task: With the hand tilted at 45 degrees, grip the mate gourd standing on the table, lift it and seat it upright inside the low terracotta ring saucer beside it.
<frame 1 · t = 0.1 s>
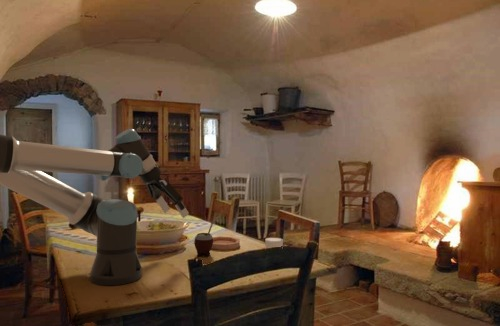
hand: (176, 213, 148), 15 cm above the table, tool tilted 35°, fingers open, 13 cm apart
mate gourd: (204, 255, 146), on the table
white cup: (273, 258, 146), on the table
ring saucer: (222, 245, 161), on the table
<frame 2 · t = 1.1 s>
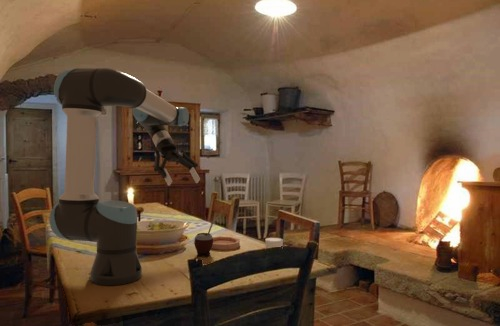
hand: (184, 182, 155), 27 cm above the table, tool tilted 45°, fingers open, 13 cm apart
nothing on the table moved.
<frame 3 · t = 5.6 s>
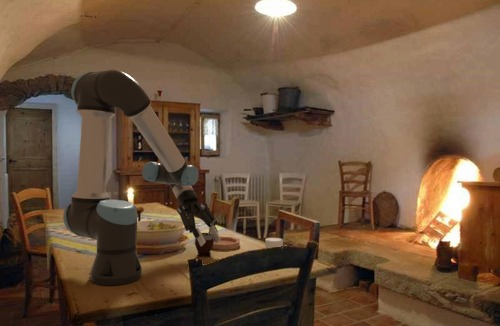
hand: (211, 242, 144), 6 cm above the table, tool tilted 45°, fingers closed on mate gourd, 7 cm apart
mate gourd: (205, 255, 147), on the table, touching gripper
everything else where it was.
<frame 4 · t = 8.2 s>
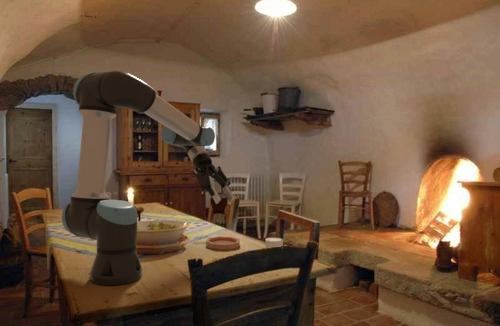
hand: (225, 200, 153), 20 cm above the table, tool tilted 45°, fingers closed on mate gourd, 7 cm apart
mate gourd: (220, 213, 156), point 14 cm above the table, touching gripper
everything else where it was.
when the fingers open (9 cm above the table, at t = 10.7 s): mate gourd drops 2 cm, resting on ring saucer.
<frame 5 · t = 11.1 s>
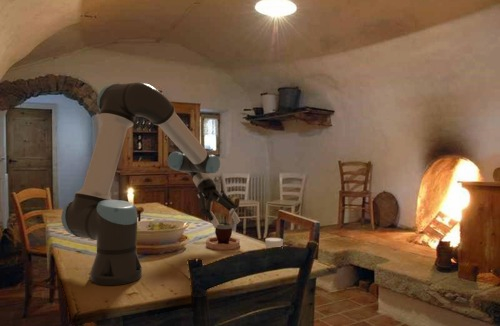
hand: (227, 224, 159), 9 cm above the table, tool tilted 45°, fingers open, 11 cm apart
mate gourd: (224, 243, 162), point 1 cm above the table, touching ring saucer
everything else where it was.
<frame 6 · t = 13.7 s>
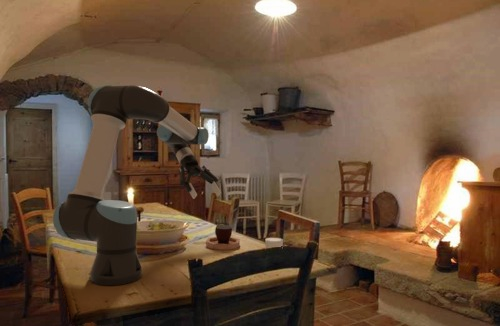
hand: (207, 195, 167), 20 cm above the table, tool tilted 45°, fingers open, 13 cm apart
nothing on the table moved.
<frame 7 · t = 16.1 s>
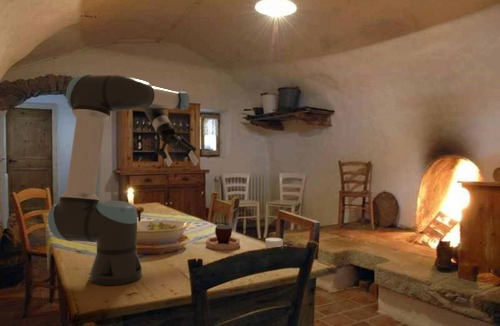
hand: (183, 163, 161), 34 cm above the table, tool tilted 45°, fingers open, 13 cm apart
nothing on the table moved.
at the end: mate gourd 1.0 cm off-centre on the ring saucer, point 0.8 cm above the ring saucer's base; mate gourd tilted 0°; the gripper is holding nothing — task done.
